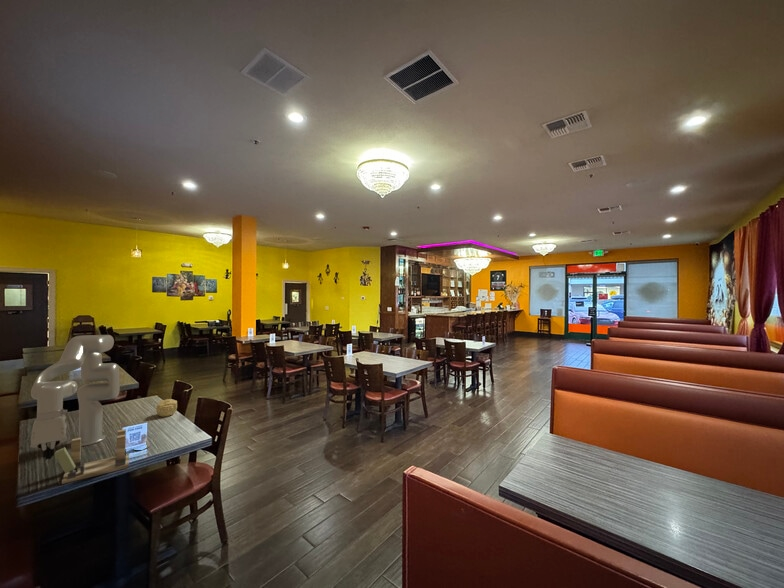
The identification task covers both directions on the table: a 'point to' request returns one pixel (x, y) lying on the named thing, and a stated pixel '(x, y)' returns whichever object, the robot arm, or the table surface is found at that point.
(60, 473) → the table surface
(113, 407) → the table surface
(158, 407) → the beige rounded lump
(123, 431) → the stool seat
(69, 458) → the hinged leg
